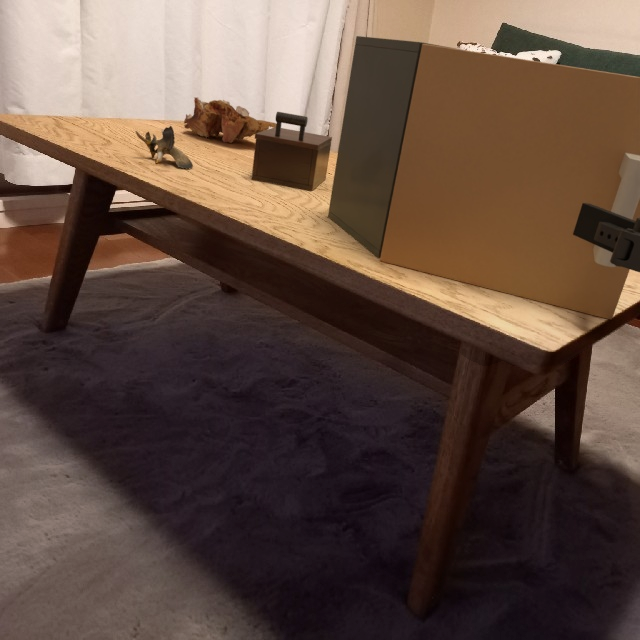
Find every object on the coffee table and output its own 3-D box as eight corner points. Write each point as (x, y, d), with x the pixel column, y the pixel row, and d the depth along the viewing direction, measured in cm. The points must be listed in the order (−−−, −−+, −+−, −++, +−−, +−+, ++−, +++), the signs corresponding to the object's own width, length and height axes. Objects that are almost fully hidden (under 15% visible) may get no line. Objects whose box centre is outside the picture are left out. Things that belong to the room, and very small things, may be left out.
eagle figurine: (127, 152, 107) (167, 153, 102) (140, 115, 108) (181, 114, 104) (156, 175, 113) (195, 176, 109) (169, 139, 115) (208, 139, 110)
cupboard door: (615, 339, 63) (707, 85, 54) (364, 273, 70) (409, 39, 61) (611, 317, 69) (693, 85, 60) (381, 259, 76) (424, 44, 67)
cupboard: (553, 266, 85) (611, 76, 76) (377, 259, 76) (420, 42, 67) (480, 227, 101) (522, 65, 91) (327, 217, 91) (356, 35, 82)
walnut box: (312, 191, 107) (318, 149, 104) (251, 179, 108) (255, 138, 105) (325, 179, 118) (331, 141, 116) (270, 168, 119) (274, 131, 117)
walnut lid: (317, 150, 103) (321, 120, 102) (254, 138, 105) (257, 109, 103) (331, 141, 116) (335, 115, 114) (275, 131, 117) (278, 105, 115)
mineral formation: (283, 148, 137) (291, 104, 137) (218, 121, 126) (227, 73, 127) (227, 160, 154) (235, 121, 155) (167, 137, 144) (175, 95, 144)
